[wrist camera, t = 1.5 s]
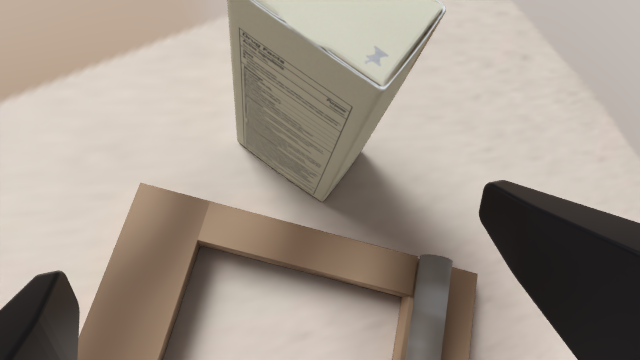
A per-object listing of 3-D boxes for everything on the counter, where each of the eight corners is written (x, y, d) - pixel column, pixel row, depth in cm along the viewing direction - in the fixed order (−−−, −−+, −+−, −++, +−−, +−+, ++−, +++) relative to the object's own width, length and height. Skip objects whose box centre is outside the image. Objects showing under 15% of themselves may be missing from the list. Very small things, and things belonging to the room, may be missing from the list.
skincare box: (363, 149, 26) (460, 10, 14) (321, 205, 24) (393, 99, 13) (276, 86, 26) (304, -100, 15) (229, 137, 25) (220, -25, 13)
